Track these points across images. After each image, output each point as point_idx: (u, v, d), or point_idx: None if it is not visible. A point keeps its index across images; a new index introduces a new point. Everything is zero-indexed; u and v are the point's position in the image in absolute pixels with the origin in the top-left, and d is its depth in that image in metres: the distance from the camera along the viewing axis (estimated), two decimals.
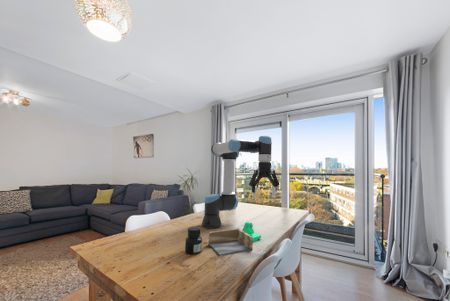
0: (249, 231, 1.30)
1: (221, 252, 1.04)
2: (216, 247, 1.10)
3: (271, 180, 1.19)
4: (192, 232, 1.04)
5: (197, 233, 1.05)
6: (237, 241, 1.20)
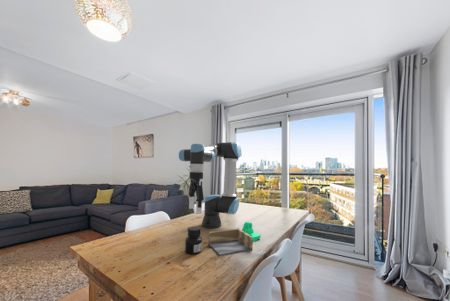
0: (249, 231, 1.30)
1: (221, 252, 1.04)
2: (216, 247, 1.10)
3: (196, 193, 1.05)
4: (192, 232, 1.04)
5: (197, 233, 1.05)
6: (237, 241, 1.20)
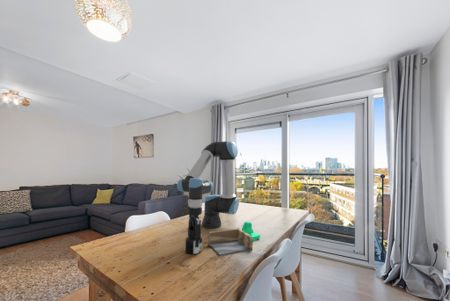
0: (248, 231, 1.30)
1: (221, 252, 1.04)
2: (216, 247, 1.10)
3: (194, 230, 1.04)
4: (192, 232, 1.04)
5: None
6: (237, 241, 1.20)
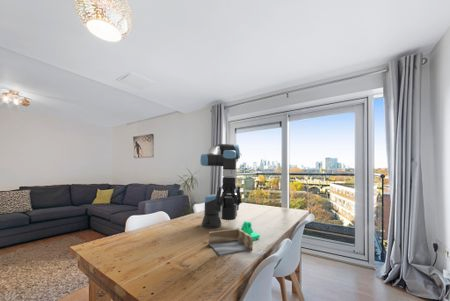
0: (248, 230, 1.31)
1: (221, 252, 1.04)
2: (216, 247, 1.10)
3: (234, 197, 1.15)
4: None
5: None
6: (237, 241, 1.20)
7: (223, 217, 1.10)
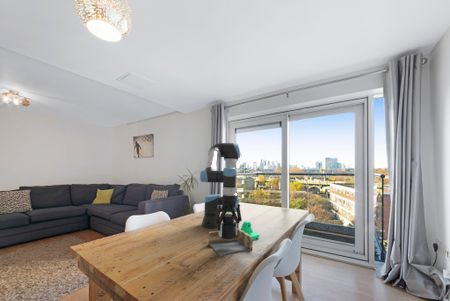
0: (247, 230, 1.31)
1: (221, 252, 1.04)
2: (216, 247, 1.10)
3: (234, 215, 1.14)
4: None
5: None
6: (237, 241, 1.20)
7: (223, 236, 1.09)
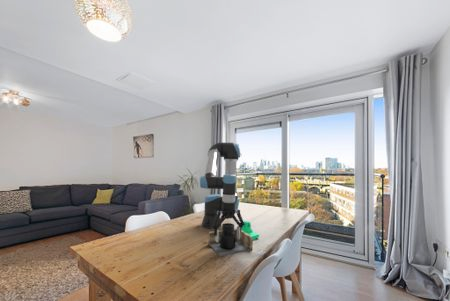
0: (247, 230, 1.31)
1: (221, 252, 1.04)
2: (216, 247, 1.10)
3: (235, 221, 1.14)
4: None
5: None
6: (237, 241, 1.20)
7: (223, 246, 1.09)
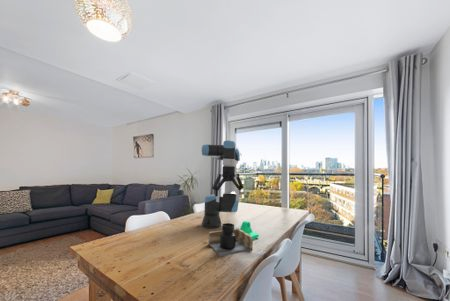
0: (247, 230, 1.31)
1: (221, 252, 1.04)
2: (216, 247, 1.10)
3: (235, 183, 1.22)
4: None
5: None
6: (237, 241, 1.20)
7: (223, 246, 1.09)
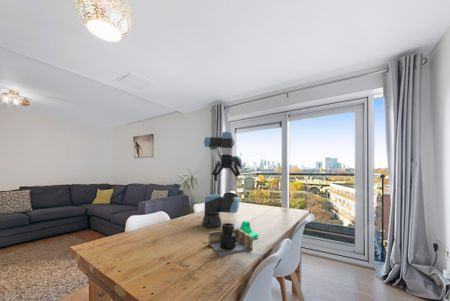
0: (246, 230, 1.32)
1: (221, 252, 1.04)
2: (216, 247, 1.10)
3: (232, 170, 1.37)
4: None
5: None
6: (237, 241, 1.20)
7: (223, 246, 1.09)
